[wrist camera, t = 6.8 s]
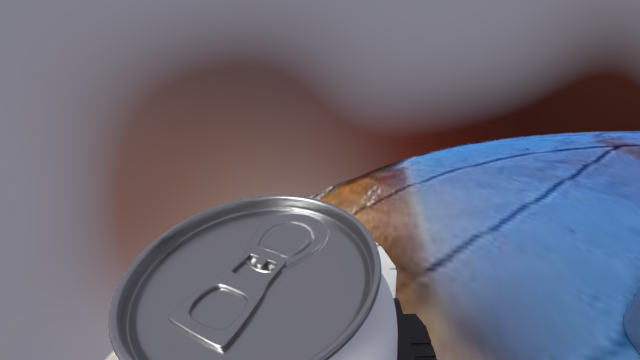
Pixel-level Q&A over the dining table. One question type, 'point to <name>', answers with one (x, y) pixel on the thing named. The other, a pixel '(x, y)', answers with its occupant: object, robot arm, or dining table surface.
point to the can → (257, 288)
